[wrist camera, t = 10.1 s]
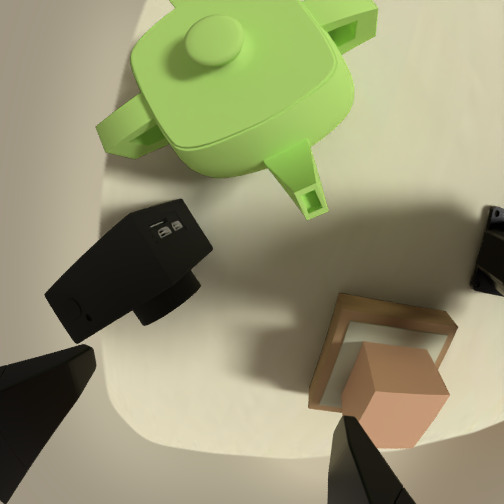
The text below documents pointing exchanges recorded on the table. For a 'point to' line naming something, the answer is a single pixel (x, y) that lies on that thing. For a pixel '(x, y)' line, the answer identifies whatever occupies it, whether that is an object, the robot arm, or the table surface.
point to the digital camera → (132, 271)
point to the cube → (394, 393)
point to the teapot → (244, 88)
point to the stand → (373, 340)
